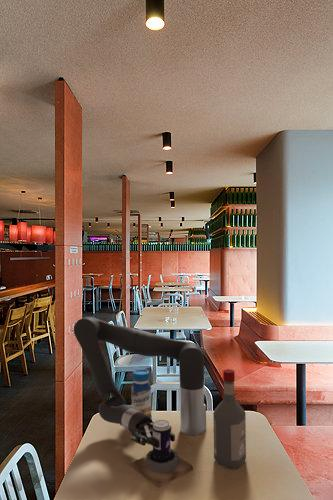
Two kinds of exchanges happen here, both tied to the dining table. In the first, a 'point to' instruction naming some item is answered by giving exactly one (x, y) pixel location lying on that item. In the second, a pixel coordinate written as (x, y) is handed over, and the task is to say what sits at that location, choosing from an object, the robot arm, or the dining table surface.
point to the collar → (162, 466)
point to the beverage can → (162, 441)
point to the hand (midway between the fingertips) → (166, 441)
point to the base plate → (165, 477)
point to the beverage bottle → (141, 392)
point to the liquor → (229, 427)
